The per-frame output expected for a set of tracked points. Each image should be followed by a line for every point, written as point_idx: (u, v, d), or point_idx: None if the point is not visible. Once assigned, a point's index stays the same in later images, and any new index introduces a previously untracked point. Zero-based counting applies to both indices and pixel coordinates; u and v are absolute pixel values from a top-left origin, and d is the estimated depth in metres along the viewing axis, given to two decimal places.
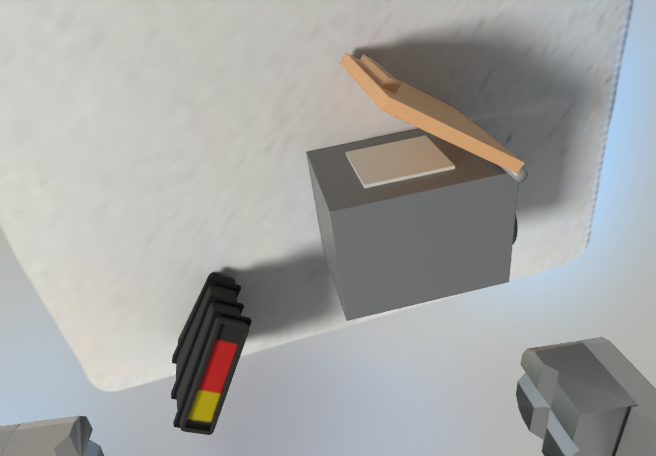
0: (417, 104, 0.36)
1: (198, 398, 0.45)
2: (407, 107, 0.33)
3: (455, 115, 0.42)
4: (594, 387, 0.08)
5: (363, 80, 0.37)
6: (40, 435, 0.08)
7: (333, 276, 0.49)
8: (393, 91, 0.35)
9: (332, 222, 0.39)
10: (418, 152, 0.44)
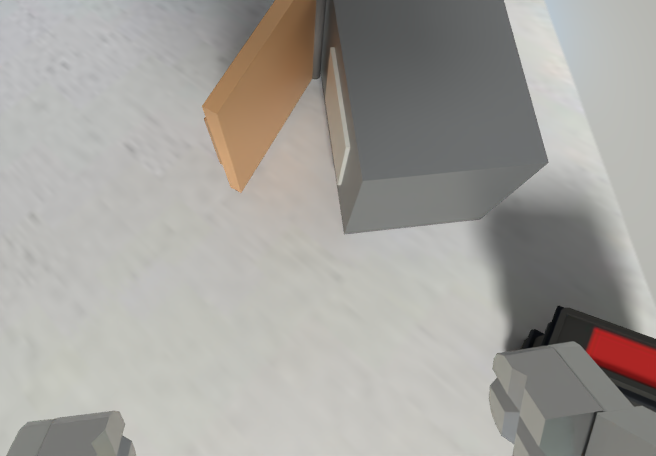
0: None
1: None
2: (217, 86, 0.29)
3: None
4: (562, 392, 0.08)
5: (223, 152, 0.34)
6: (76, 430, 0.08)
7: (498, 194, 0.36)
8: None
9: (378, 178, 0.30)
10: (330, 98, 0.38)
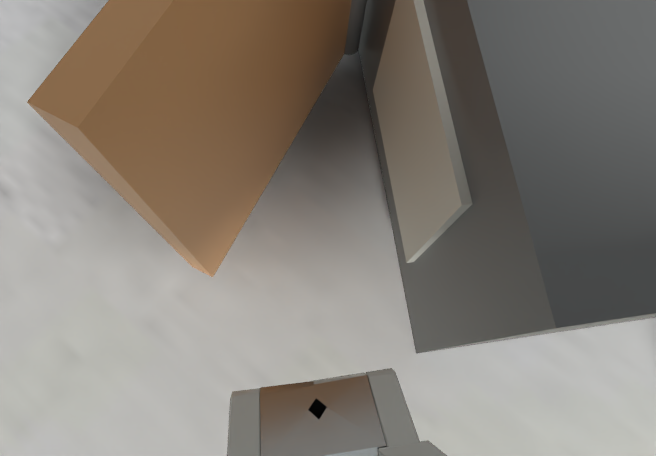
0: None
1: None
2: (87, 34, 0.09)
3: None
4: (354, 425, 0.08)
5: (152, 219, 0.14)
6: (287, 398, 0.08)
7: None
8: None
9: (603, 316, 0.10)
10: (393, 85, 0.18)
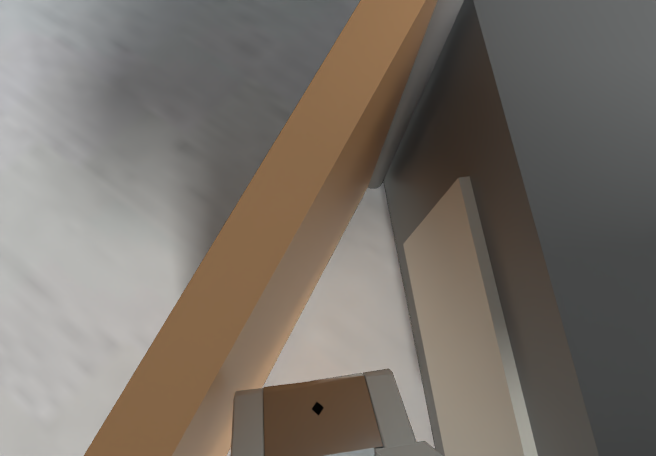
0: None
1: None
2: None
3: None
4: (351, 425, 0.08)
5: None
6: (290, 397, 0.08)
7: None
8: None
9: None
10: (434, 275, 0.16)
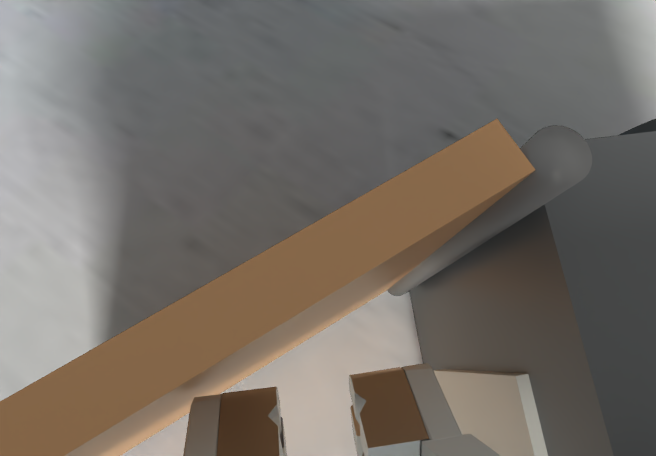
0: None
1: None
2: None
3: None
4: (394, 418, 0.08)
5: None
6: (248, 404, 0.08)
7: None
8: None
9: None
10: None
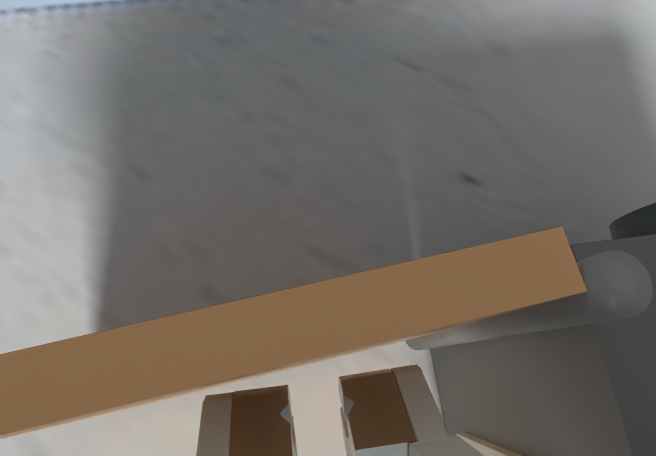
0: None
1: None
2: None
3: None
4: (382, 420, 0.08)
5: None
6: (260, 402, 0.08)
7: None
8: None
9: None
10: None
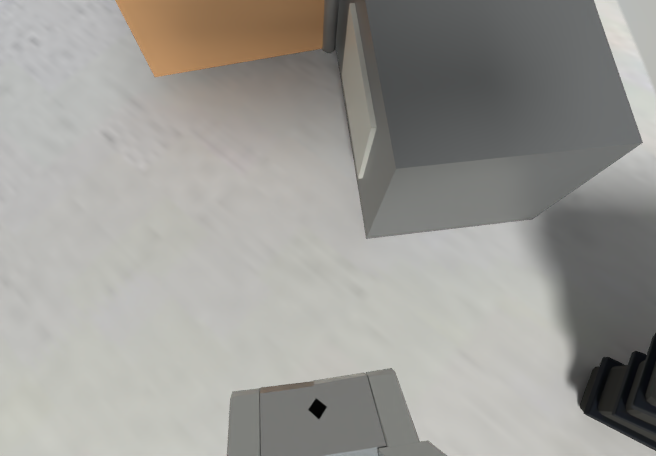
0: None
1: None
2: None
3: None
4: (354, 425, 0.08)
5: None
6: (287, 398, 0.08)
7: (564, 186, 0.28)
8: None
9: (417, 164, 0.22)
10: (349, 70, 0.31)
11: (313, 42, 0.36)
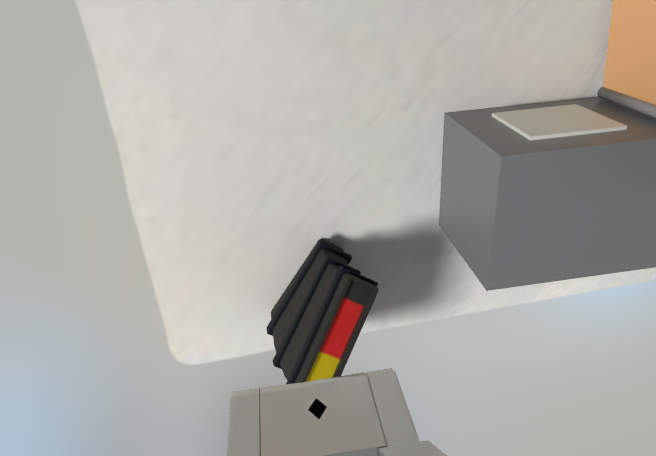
0: None
1: (317, 360, 0.40)
2: None
3: None
4: (354, 425, 0.08)
5: None
6: (287, 398, 0.08)
7: (463, 247, 0.45)
8: None
9: (501, 169, 0.36)
10: (577, 115, 0.41)
11: (610, 81, 0.45)
